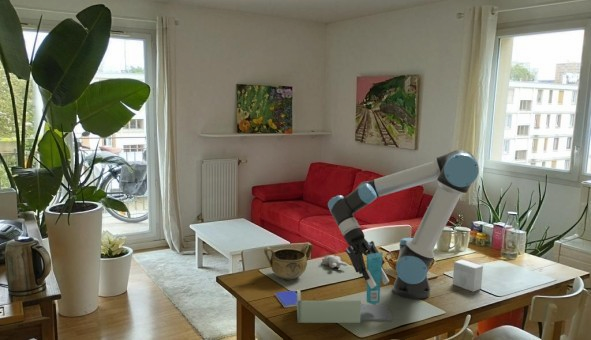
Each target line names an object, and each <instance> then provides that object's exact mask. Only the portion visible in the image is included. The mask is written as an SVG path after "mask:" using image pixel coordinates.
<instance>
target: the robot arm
mask: <svg viewBox="0 0 591 340" xmlns="http://www.w3.org/2000/svg"><path fill="white" fill-rule="evenodd" d="M479 167H480V166H479V163H478V161H477V160H476V158H475V156H474V155H473V154H472V153H471V152H469V151H468V150H463V149H457V150H456V149H455V150H453V151H451V152H447V153H446V154H443V155H441V156H438V157H435V158H434V160H433V161H430V162H426V163H423V164H421V165H418V166H417V165H416V166H413V167H411V168H408V169H404V170H401V171H397V172H394V173H391V174H387V175H386V176H385V175H384V176H382V177H378V178H374V179H372V180H369V181H368V180H367V181H362V182H360V183H359V184H358V186H356V188H355V189H354V190H353V191H351V192H350V193H349V194H348V195H346V196H343V195H336V196H334V197H331V198H330V199H329V201H328V202H327V207H328V209H329V211H330V215H332V218H333V219H334V221H335V223H336V225H337V226H338V229H339V231H340V232H341V235H342V236H343V238H344V240H345V242H346V244H347V245H348V247H346V248H345V250H344V251H345V253H346V254H347V255H348V257H349V260H350V262H351V264H352V266H353V268H354V271H355V272H356V273H358V274H359V275H362V277H363V278H364V281H366V283H367V282H368V284H369V286H370V288H371V289H373V288H374V287H375V286H376V283H375V281H374V279H373V277H372V276H371V274H370V272H369V270H367V266H366V264H365V261H364V256H366V257H367V254H373V253H379V252H380V251H379V250H378V249H377V247H376V245H375V242H374V241H373V240H371V241H368V240H367V239H366V238H365V233H364V232H363V230H362V228H361V226H360V224H359V223H358V220H357V219H356V217H355V216H354V215H355V214H356V213H357V212H359V211H360V210H361V209H364V208H365V207H366V206H368V205H369V204H371V203H373V202H374V201H375V200H376V199H377V198H380V197H382V196H387V195H389V194H393V193H396V192H401V191H403V190H406V189H410V188H414V187H418V186H420V185H423V184H427V183H431V182H434V181H437V182H436V183H437V185H438V186H437V188H436V190H435V193H434V195H433V197H432V199H431V201H430V203H429V205H428V206H427V208H426V211H425V212H424V214H423V217H422V218H421V221H420V223H419V225H418V227H417V228H416V231H415V234H414V235H413V237H404V238H401V239H400V240H399V252H398V256H397V260H396V263H395V270H396V273H397V275H396V277H395V281H394V283H393V289H392V290H393V292H394V293H395V294H396V295H397V296H400V297H402V298H405V299H409V300H410V299H412V300H422V299H425V298H428V297H429V296H430V295H431V286H430V282H429V279H428V274H429V268H430V266H431V263H432V262H433V260H434V259H435V253H434V249H435V246H436V245H437V243H438V241H439V239H440V237H441V235H442V233H443V232H444V230H445V227H446V225H447V223H448V221H449V220H450V218H451V215H452V213H453V212H454V209H455V208H456V207H457V203H458V202H459V199H460V198H461V196H464V195H466V194H468V191H469V190H470V188H471V185H472V184H473V183H474V182H475V181H476V180H477V178H478V177H479V171H480V168H479ZM363 255H364V256H363ZM385 263H386V262H385V260H384V257H382V268H381V282H382V284H383V285H387V284H388V283H389V282H390V279H389V278H388V276H387V272H386V270H385V269H384V266H383V265H384V264H385Z"/></svg>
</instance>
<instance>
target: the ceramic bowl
mask: <svg viewBox="0 0 591 340" xmlns="http://www.w3.org/2000/svg"><path fill="white" fill-rule="evenodd" d="M313 248H314V246H313V244H311V242H309V241H308V242H305V243H304V244H303V246H302V247H301V250H300V249H296V248H280V249H279V248H278V249H276V250H273V249H272V248H271V247H269V246H267V247H265V248H264V251H263V252H264V255H265V258H266V259H267V262H268V264H269V266H270V268H271V270H272V272H273V274H275V276H276V277H278V278H280V279H283V280H294V279H297V278H300V277H301V276H302V275H303V274H304V273H305V271H306V269H307V268H308V267H307V265H308V260H309V257H310V256H311V253H312V251H313ZM268 251H270V252H271V255H270V257H269V253H268Z"/></svg>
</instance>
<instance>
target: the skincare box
mask: <svg viewBox="0 0 591 340" xmlns="http://www.w3.org/2000/svg"><path fill="white" fill-rule="evenodd" d="M483 269H484V266H483V265H481V264H477V263H475V262H471V261H468V260H465V259H459V260H456V261H454V262H453V278H452V285H454V286H457V287H460V288H461V289H465V290H467V291H471V292H476V291H478V290H481V289H482V283H483V282H482V281H483V272H484V271H483Z"/></svg>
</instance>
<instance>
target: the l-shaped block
mask: <svg viewBox="0 0 591 340" xmlns="http://www.w3.org/2000/svg"><path fill="white" fill-rule="evenodd" d="M296 294H297V306H296V314H297V315H296V316H297V319H296V320H297V324H299V323H300V324H302V323H303V324H304V323H305V324H309V323H310V324H314V323H315V324H317V323H318V324H323V323H324V324H326V323H327V324H328V323H332V324H333V323H335V324H336V323H338V324H339V323H340V324H346V323H348V324H352V323H353V324H357V323H358V324H359V323H361V321H360V313H361V305H362V303H361V302H362V301H361V300H302V294H301V289H298V288H297V289H296ZM301 300H302V301H301Z"/></svg>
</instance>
